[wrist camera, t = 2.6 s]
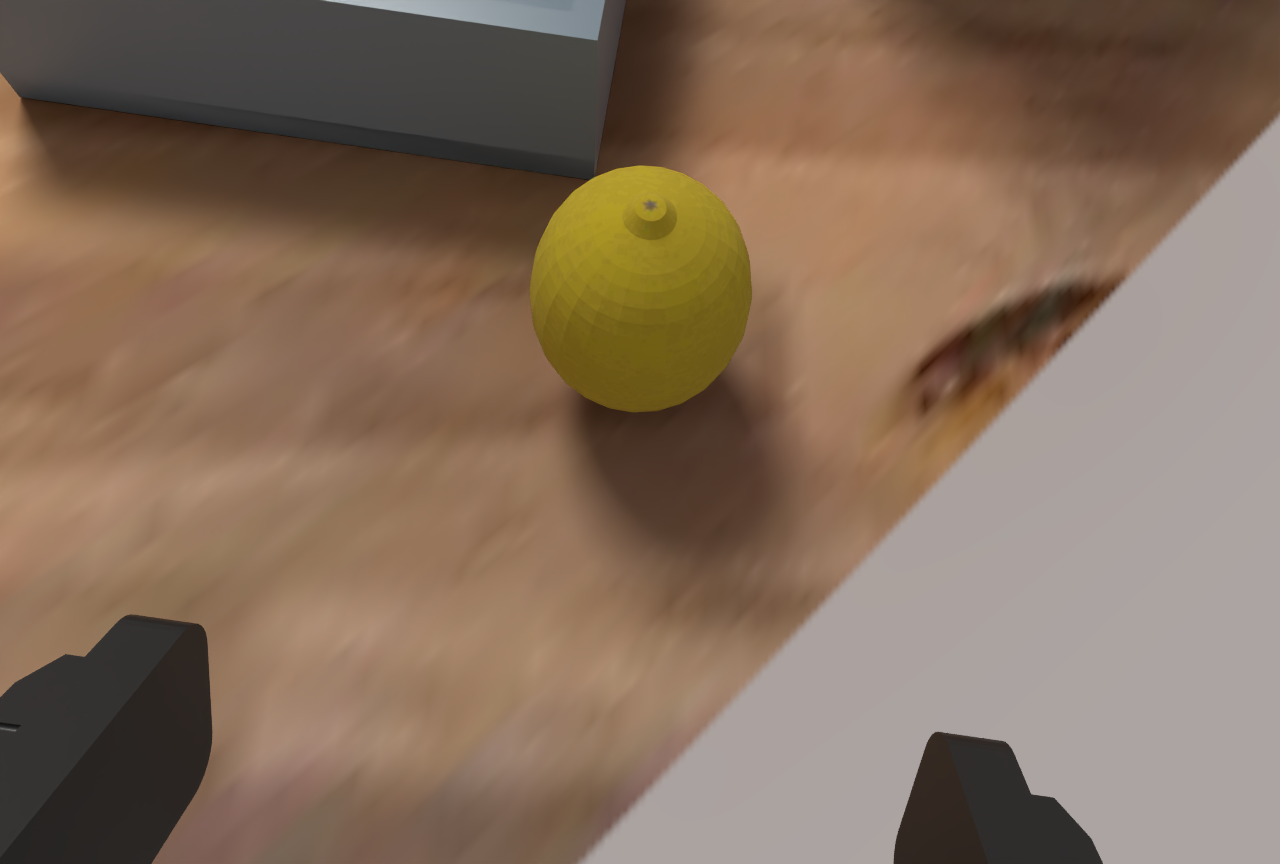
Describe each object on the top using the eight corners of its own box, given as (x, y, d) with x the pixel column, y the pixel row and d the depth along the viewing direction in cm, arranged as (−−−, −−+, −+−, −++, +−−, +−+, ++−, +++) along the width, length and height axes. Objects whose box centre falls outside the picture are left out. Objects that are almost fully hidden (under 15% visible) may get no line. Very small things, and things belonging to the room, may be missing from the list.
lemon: (743, 303, 29) (799, 132, 22) (704, 473, 27) (751, 348, 20) (564, 260, 30) (559, 76, 22) (513, 427, 28) (488, 285, 20)
